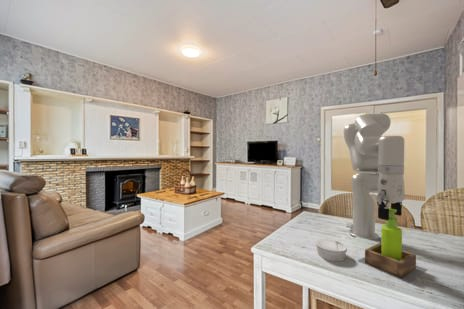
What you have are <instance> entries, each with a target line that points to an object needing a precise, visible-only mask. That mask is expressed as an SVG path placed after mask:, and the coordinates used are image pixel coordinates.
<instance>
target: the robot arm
mask: <svg viewBox="0 0 464 309" xmlns="http://www.w3.org/2000/svg"><path fill="white" fill-rule="evenodd" d="M391 124H392V123H391V118H390V115H388V114H387V113H368V114H367V113H365V114H362V115H361V114H360V115H359V116H358V117H356V118H355V121H354V123H349V124H347V125H345V127H344V129H343V139H344V142H345V144H346V146H347V148H348V150H349V156H350V161H351V162H350V163H351V167H352V170H353V171H354V172H355V174H353V175H352V176H351V179H350V184H351V189H352V190H351V191H352V223H351V222H346V223H345V227H346V228H349V231H348V233H349V235H350V236H351V237H353V238H357V237H358V238H361V239H366V240H367V239H368V240H375V241H376V240H379V235H378V233H376V232H375V231H376V204H377V218H378V219H380V220H383V221H386V220H389V209H388V208H389V206H390V208H391V209H395V210H397V212H395V216H399V217H400V216H402V211H403V209H402V208H403V205H402V204H403V201H404V200H405V199H406V196H405V180H404V179H405V178H404V175H405V138H404V137H403V136H402V135H384V134H385V133H386V132H387V131H388V130H389V129H390V127H391ZM382 135H384V136H382ZM372 193H376V194H377V196H376V202H375V199H374V198H373V196H372V195H370V194H372Z"/></svg>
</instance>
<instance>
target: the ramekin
mask: <svg viewBox="0 0 464 309" xmlns="http://www.w3.org/2000/svg"><path fill="white" fill-rule="evenodd" d="M315 246H316V249H317V250H316V251H317V255H318V256H319V257H321V258H322V259H325V260H327V261H331V262H341V261H344V260H345V257H346V253H347V251H348V248H347V246H346V244H344V243H342V242H340V241H338V240H334V239H329V238H328V239H327V238H324V239H323V238H322V239H321V238H320V239H318V240H316V242H315Z"/></svg>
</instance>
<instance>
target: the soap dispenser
mask: <svg viewBox="0 0 464 309" xmlns="http://www.w3.org/2000/svg"><path fill="white" fill-rule="evenodd" d="M388 209H389V220H385V225H384V224H383V225H381V242H380V243H381V254H382V255H385V256H387V257H390V258H393V259H395V260H398V261H400V260H401V259H402V250H403V247H402V246H403V229H401V228H400V227H398V223H399V221H398V218H396V217H395V216H396V215H395V212H397V210H395V209H391V207H388Z"/></svg>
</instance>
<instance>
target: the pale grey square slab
mask: <svg viewBox="0 0 464 309" xmlns="http://www.w3.org/2000/svg"><path fill="white" fill-rule="evenodd" d="M357 262H360V263H362V264H363V265H366V266H368V267H370V268H373V269H376V270H377V271H379V272H382V273H384V274H387V275H389V276H390V277H391V276H392V277H394V278H396V279H398V280H400V281H403V282H405V283H407V284H410V283H412V282H413V281H414V280H416V279H417V278H419V277H420V276H421V275H422V274H424V273H426V271H428V269H427V268H425V267H421V266H418V265H416V269H415V270H413V271H412V272H411V273H409V274H408V275H406V276H405V277H403V278H402V279H401V278H399V277H397V276H394V275H392V274H390V273H387V272H385V271H383V270H380V269H378V268H376V267H373V266H371V265H369V264H366V263H365V256H364V257H362V258H360V259H358V260H357Z"/></svg>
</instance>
